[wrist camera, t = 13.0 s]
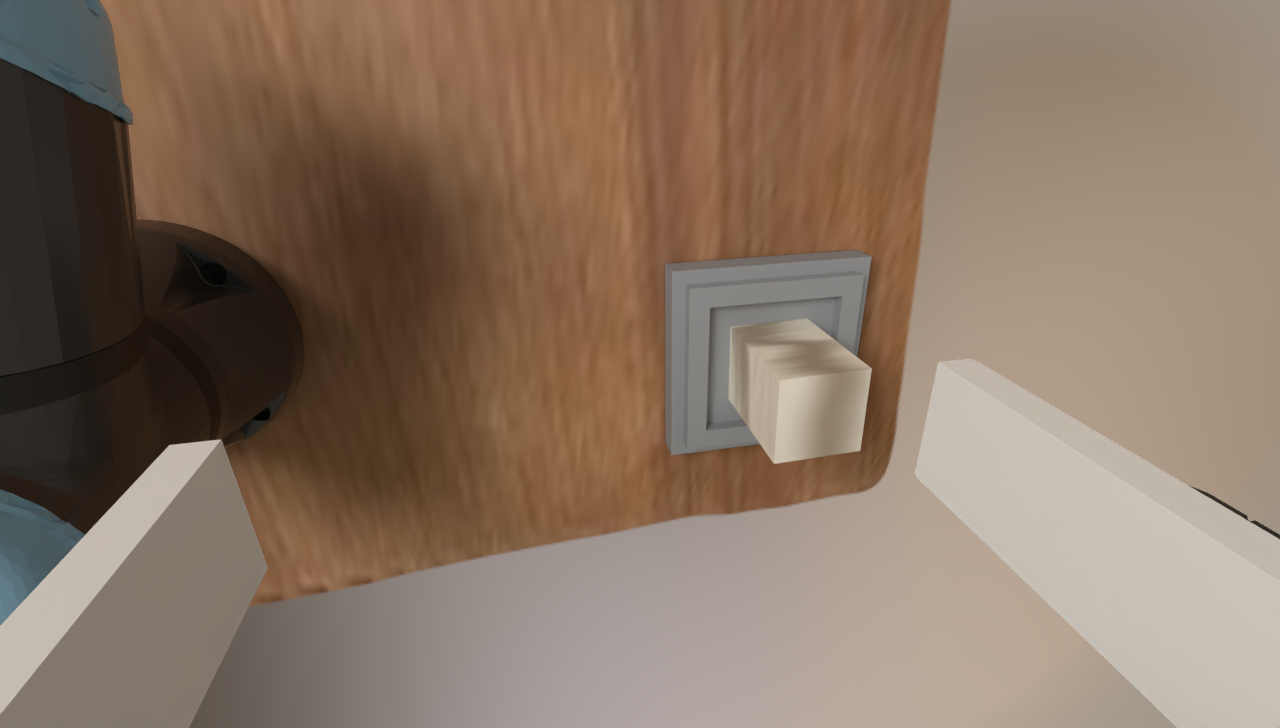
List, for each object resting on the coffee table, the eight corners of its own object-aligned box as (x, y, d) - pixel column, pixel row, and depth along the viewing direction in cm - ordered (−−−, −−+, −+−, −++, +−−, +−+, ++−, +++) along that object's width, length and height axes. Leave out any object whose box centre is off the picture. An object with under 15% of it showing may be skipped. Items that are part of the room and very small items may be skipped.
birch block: (728, 398, 47) (773, 463, 39) (730, 326, 44) (779, 380, 36) (801, 389, 48) (860, 450, 40) (807, 318, 45) (871, 368, 37)
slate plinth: (665, 442, 50) (674, 462, 47) (665, 264, 43) (675, 275, 41) (834, 420, 52) (852, 439, 50) (857, 249, 46) (879, 259, 43)
